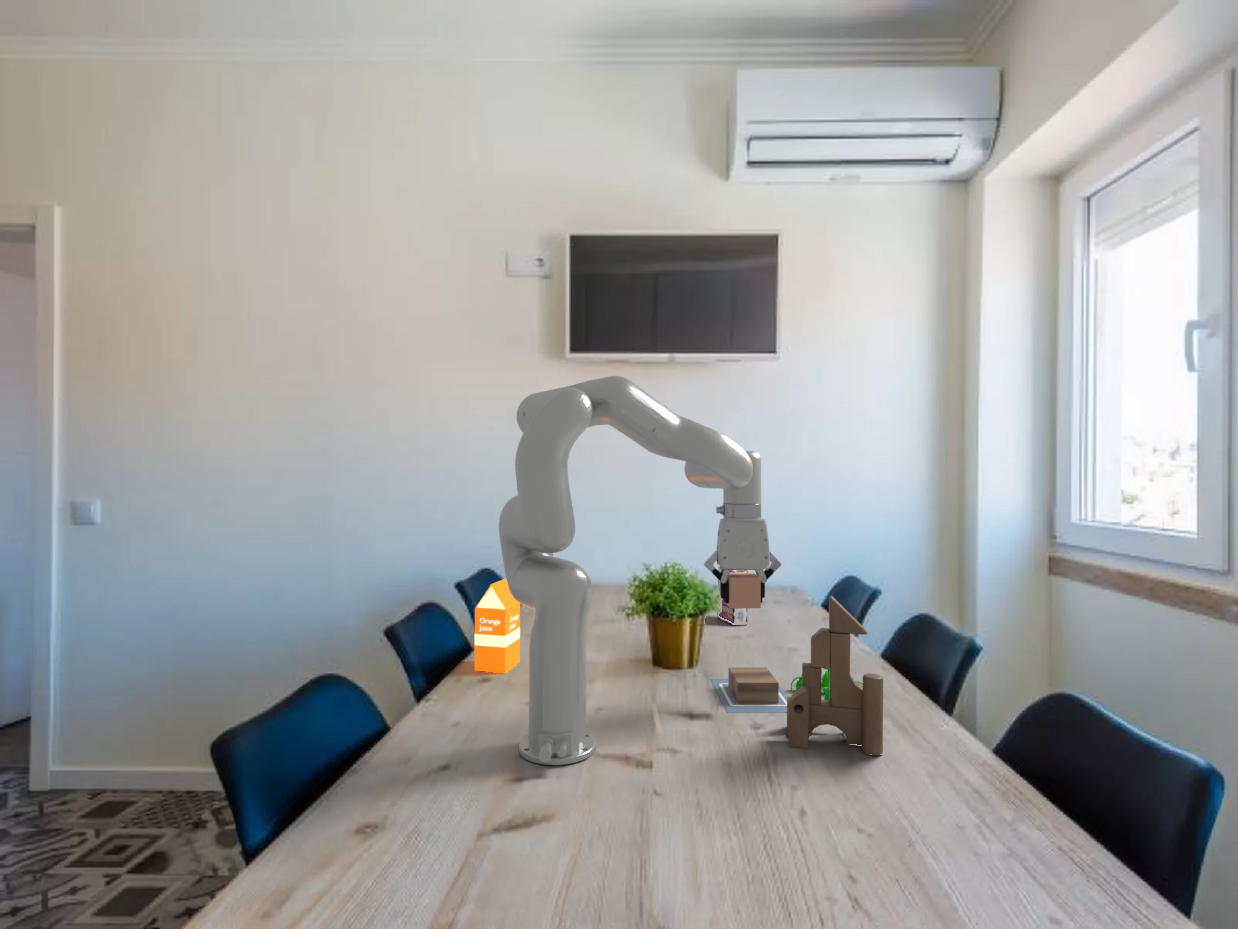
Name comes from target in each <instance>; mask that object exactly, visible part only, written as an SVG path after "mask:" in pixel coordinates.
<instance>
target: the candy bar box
mask: <svg viewBox="0 0 1238 929" xmlns="http://www.w3.org/2000/svg"><path fill="white" fill-rule="evenodd" d="M717 567H718V569H717V570H718V571H719V572H721V570H722V568H721V567H720V566H719V565H718V566H717ZM730 573H749V570H731V571H730ZM718 589H719V591H720V580H719V579H718V578H717V590H718ZM719 616H720V617H722V618H724V619H727V620H729V621H731V622H732V623H742V622H747V623H748V608H731V609H730V607H729V606H728V605H727V604H726V603H725V602H724V601H723V598H722V612H721V613H720V614H719Z"/></svg>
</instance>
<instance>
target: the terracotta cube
mask: <svg viewBox="0 0 1238 929" xmlns="http://www.w3.org/2000/svg"><path fill="white" fill-rule="evenodd" d="M727 580H728V584H729V603H726V604H727V605H728V606H729V607H730V609H731V608H747V609H761V608H762V603H761V578H760V577H759V576H758V575H756V572H748V573H730V574H729V576H728V579H727Z"/></svg>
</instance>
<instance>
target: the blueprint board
mask: <svg viewBox="0 0 1238 929" xmlns="http://www.w3.org/2000/svg"><path fill="white" fill-rule="evenodd" d="M710 682H711V683H712V685H713V688H714V689H715V691H716V693H717V695H718V697H719V699H720V701H721V704H722V705H723V707H724V709H725V711H726V713H727V714H787V698H788V697H789V695H788V694H787V693H786V691H784V689H783V688H782V687H781V685H779V701H778V703H737V701H736V699H735V697H734V696H733V694H732V692H731V690H730V689H729V687H728V678H710Z"/></svg>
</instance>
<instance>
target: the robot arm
mask: <svg viewBox="0 0 1238 929" xmlns="http://www.w3.org/2000/svg"><path fill="white" fill-rule="evenodd" d="M516 422H517V426H518V428H519V429H520V431H521V433H522V435H521V436H520V440H519V442H518V446H517V447H516V448H517V450H516V454H515V460H514V463H515V464H514V465H515V469H514V470H515V478H516V490H517V495H515V496H512V498H510V499H509V500H507V501H506V502H505V504H504V506H503V507H502V509H501V512H500V514H499V518H498V519H499V520H498V534H499V543H500V550H501V554H502V560H503V562H502V563H503V567H504V568H503V569H504V574H505V579H506V580H507V584H508V587H509V590H510V592H511V594H512V596H513V597H514V599H515V600H516V601H517V602H519V603H520V605H522V606H524V607H526V608H528V609H530V610H534V612H535V614H534V619H533V624H532V626H531V630H530V634H529V641H528V660H529V661H528V662H529V663H528V664H529V665H528V666H529V667H528V668H529V670H528V734H527V735H525V736H524V737H523V738H522V739H520V741H519V744H518V752H519V755H520V756H521V757H522V758H523V759H525V760H527V761H529V762H531V763H535V764H539V765H545V766H563V765H569V764H570V765H571V764H575V763H578V762H582V761H583V760H586V759H588V758H589V757H591V756H592V755H593V753H594V752H595V750H596V740H595V738H594V737H593V736H592V735H590V733H587V664H588V663H587V658H588V656H587V643H588V642H587V638H588V637H587V636H588V624H589V623H588V622H589V618H590V617H589V616H590V612H591V611H590V610H591V608H592V602H593V584H592V581H591V579H590V576H589V574H588V573H587V572H586V570H585V569H584V568H583V567H582V566H580V565H578V564H577V563H575V562H574V561H571V560H568V559H563V558H561V557H555V556H554V554H556V553H559V552H560V553H561V552H562V551H564V550H566V549H567V548H569V547H570V545H571V544H572V543H573V541H574V538H575V535H576V521H575V514H574V508H573V500H572V496H571V495H572V494H571V489H570V482H569V472H568V462H569V456H570V453H571V450H572V448H573V446H574V444H575V443H576V441H577V440H578V439H579V437H580V436H581V435H582V434H583V433H584V432H585V431H586V429H588V428H591V427H595V426H607V425H609V426H610V427H612V428H614V429H615V430H617V431H618V432H620V433H621V434H623V435H624V436H626V438H628V439H630V440H631V441H633V442H634V443H636V444H637V445H639V446H640V447H642V448H643V449H645V450H646V451H648V452H649V453H652V454H654V455H658V456H660V457H664V458H668V459H673V460H678V461H682V462H685V464H684V475H685V477H686V479H687V480H688V482H689V483H690V484H692V485H694V487H695V486H696V487H698V488H703V489H722V492H723V494H722V495H723V497H722V499H723V502H722V504H721V505H720V506H716V507H715V510H716V511H715V513H716V514H720V515H722V517H723V518H720V520H719V523H718V530H717V539H716V540H717V541H716V549H715V551H714V552H713V553H712V554H711V555H710V556H709V557H708V558H707V559H706V560H705V561H704V563H703V565H704V567H705V568H706V569H707V570H708V571H709V572H710V573H711V574H712V575H713V576H714V577H715V578H716V579H717V580H718V579H719V580H720V596H721V598H723V601H724V602H725V603H729V584H728V580H727V579H728V576H729V574H730V571H731V570H747V571H754V573H755V574H756V575H758V576H759V577H760V578H761V604H763V598H765V597H766V589H765V588H766V583H767V582H768V579H770V578H771V577H772V576H773V574H774V573H775V572H776V571H777V570H778V569H779V568H780V567H781V566H782V563H781V562H780V560H778V559H777V558H776V556H775V555H774V554H772V552H771V551H770V542H769V533H768V532H769V531H768V525H767V521H766V519H764V518H762V458H761V455H760V453H758V452H757V451H754V450H753V451H752V450H744V449H743V448H742V447H741V446H740V445H738V444H737V443H736V442H734V441H733V440H732V439H730V437H727V436H726V435H724V434H723V433H721V432H719V431H717V430H715V429H712V428H711V427H708V426H706V425H703V424H701V423H699V422H696V421H694V420H692V419H690V418H687V417H684V416H682V415H679V414H678V413H675V412H674V411H672V410H671V409H670V408H668V407H667V406H666V405H665V404H662V403H661V402H660V401H659V400H658V399H656V398H654V396H652V395H651V394H650V393H648V392H647V391H646V390H644V389H643V388H641V387H640V386H638V385H637V384H636V383H634V382H633V381H632V380H630V379H628V378H626V377H624V376H619V375H611V376H605V377H600V378H595V379H591V380H589V379H588V380H585V381H583V382H578V383H575V384H572V385H571V384H570V385H567V386H563V387H558V388H553V389H549V390H543V391H539V392H535V393H531V394H529V395H528V396H526V397H525V398H523V399H522V401H521V402H520V403H519V406H518V407H517V410H516ZM714 563H716V564H717V565H718V566H720V567H721V568H722V570H721V572H719V571H718V569H717V568H716V567H715V566H714Z"/></svg>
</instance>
